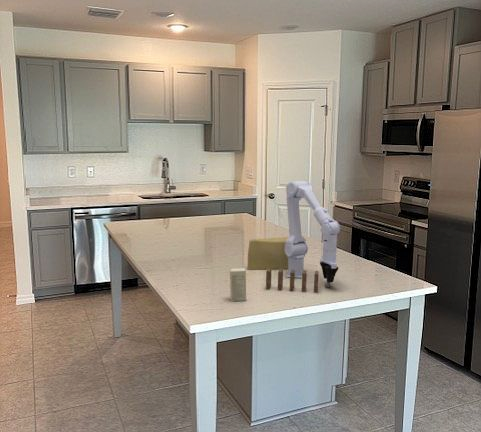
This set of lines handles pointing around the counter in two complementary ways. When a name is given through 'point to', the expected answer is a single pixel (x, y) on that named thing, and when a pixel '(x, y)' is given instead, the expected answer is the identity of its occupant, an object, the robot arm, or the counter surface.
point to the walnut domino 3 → (292, 279)
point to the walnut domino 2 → (280, 279)
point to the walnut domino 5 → (316, 281)
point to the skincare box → (238, 284)
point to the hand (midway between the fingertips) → (328, 280)
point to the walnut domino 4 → (304, 280)
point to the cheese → (267, 254)
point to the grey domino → (327, 283)
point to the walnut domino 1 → (268, 279)
